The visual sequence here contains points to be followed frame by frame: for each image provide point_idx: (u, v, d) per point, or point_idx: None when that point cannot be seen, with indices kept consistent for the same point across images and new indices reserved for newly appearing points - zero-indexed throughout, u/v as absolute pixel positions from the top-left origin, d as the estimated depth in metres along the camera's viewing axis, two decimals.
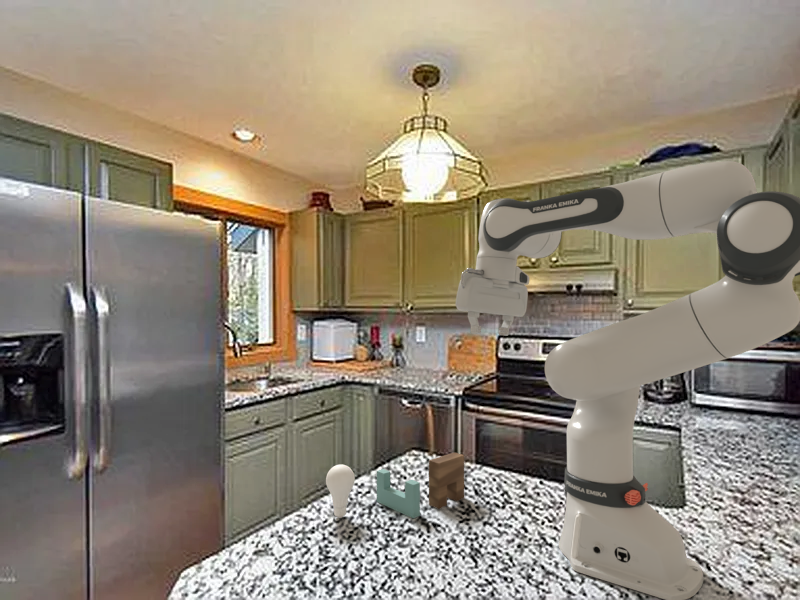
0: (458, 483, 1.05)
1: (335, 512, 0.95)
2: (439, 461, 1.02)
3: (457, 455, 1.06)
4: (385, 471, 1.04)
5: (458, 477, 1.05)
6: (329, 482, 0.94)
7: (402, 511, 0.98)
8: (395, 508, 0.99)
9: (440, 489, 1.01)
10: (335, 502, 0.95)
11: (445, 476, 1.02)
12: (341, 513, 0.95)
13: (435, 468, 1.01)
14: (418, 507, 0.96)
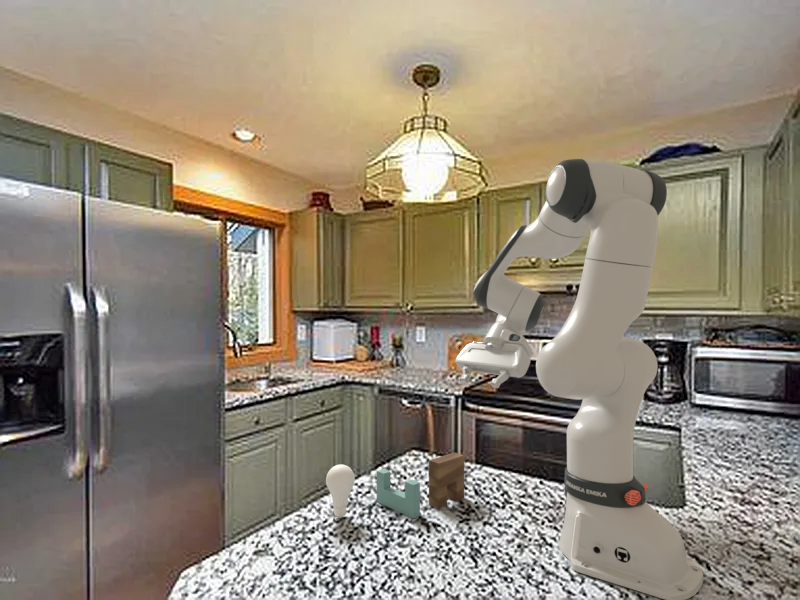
0: (458, 483, 1.05)
1: (335, 512, 0.95)
2: (439, 461, 1.02)
3: (457, 455, 1.06)
4: (385, 471, 1.04)
5: (458, 477, 1.05)
6: (329, 482, 0.94)
7: (402, 511, 0.98)
8: (395, 508, 0.99)
9: (440, 489, 1.01)
10: (335, 502, 0.95)
11: (445, 476, 1.02)
12: (341, 513, 0.95)
13: (435, 468, 1.01)
14: (418, 507, 0.96)
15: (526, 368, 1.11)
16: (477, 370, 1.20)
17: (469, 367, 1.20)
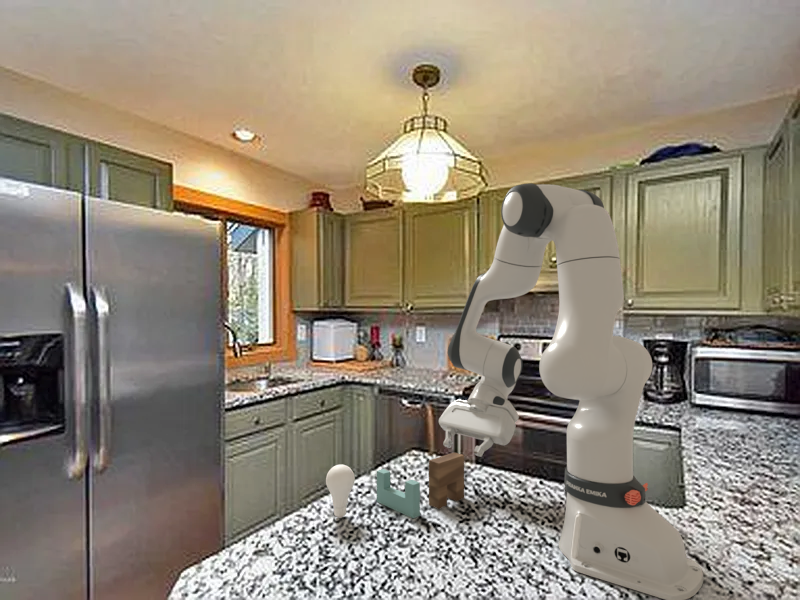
0: (458, 483, 1.05)
1: (335, 512, 0.95)
2: (439, 461, 1.02)
3: (457, 455, 1.06)
4: (385, 471, 1.04)
5: (458, 477, 1.05)
6: (329, 482, 0.94)
7: (402, 511, 0.98)
8: (395, 508, 0.99)
9: (440, 489, 1.01)
10: (335, 502, 0.95)
11: (445, 476, 1.02)
12: (341, 513, 0.95)
13: (435, 468, 1.01)
14: (418, 507, 0.96)
15: (511, 435, 1.06)
16: (461, 433, 1.14)
17: (452, 429, 1.14)
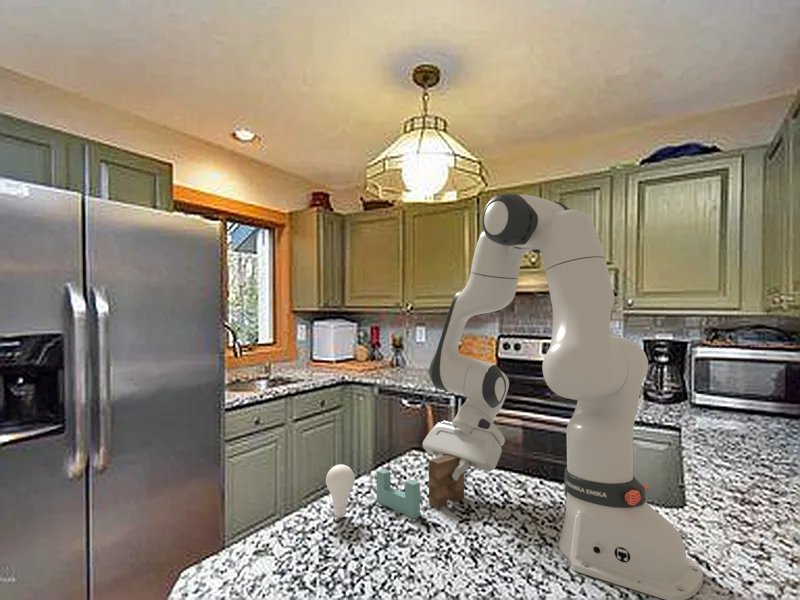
0: (458, 483, 1.05)
1: (335, 512, 0.95)
2: (439, 461, 1.02)
3: None
4: (385, 471, 1.04)
5: None
6: (329, 482, 0.94)
7: (402, 511, 0.98)
8: (395, 508, 0.99)
9: (440, 489, 1.01)
10: (335, 502, 0.95)
11: (445, 476, 1.02)
12: (341, 513, 0.95)
13: (435, 468, 1.01)
14: (418, 507, 0.96)
15: (496, 461, 1.01)
16: None
17: None
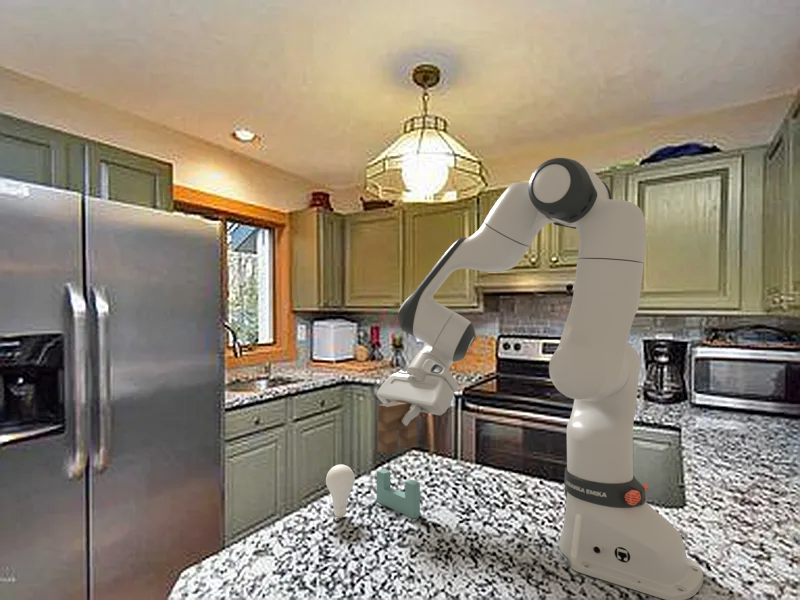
0: (410, 429, 1.02)
1: (335, 512, 0.95)
2: (388, 405, 0.98)
3: None
4: (385, 471, 1.04)
5: (410, 423, 1.02)
6: (329, 482, 0.94)
7: (402, 511, 0.98)
8: (395, 508, 0.99)
9: (389, 433, 0.97)
10: (335, 502, 0.95)
11: (395, 421, 0.99)
12: (341, 513, 0.95)
13: (384, 412, 0.98)
14: (418, 507, 0.96)
15: (447, 404, 0.98)
16: None
17: None
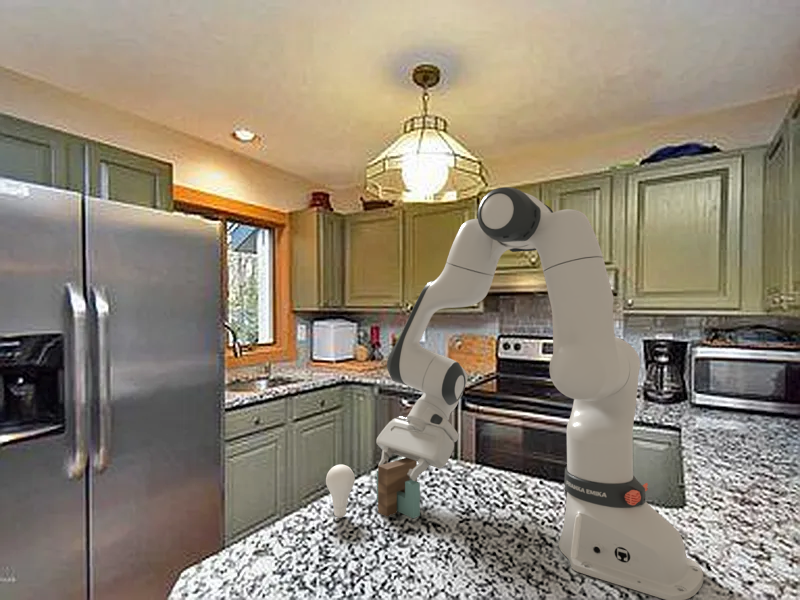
0: None
1: (335, 512, 0.95)
2: (388, 467, 0.98)
3: (410, 460, 1.02)
4: None
5: None
6: (329, 482, 0.94)
7: (402, 511, 0.98)
8: None
9: (389, 496, 0.97)
10: (335, 502, 0.95)
11: (395, 483, 0.98)
12: (341, 513, 0.95)
13: (384, 474, 0.97)
14: (418, 507, 0.96)
15: (447, 457, 0.97)
16: (398, 453, 1.06)
17: (389, 450, 1.06)
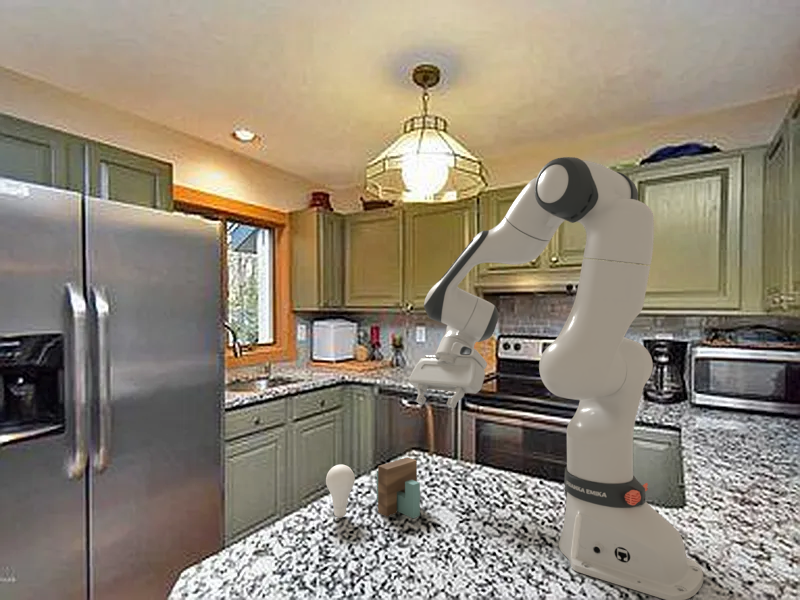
0: None
1: (335, 512, 0.95)
2: (388, 467, 0.98)
3: (410, 460, 1.02)
4: None
5: None
6: (329, 482, 0.94)
7: (402, 511, 0.98)
8: None
9: (389, 496, 0.97)
10: (335, 502, 0.95)
11: (395, 483, 0.98)
12: (341, 513, 0.95)
13: (384, 474, 0.97)
14: (418, 507, 0.96)
15: (481, 382, 1.06)
16: (432, 388, 1.14)
17: (424, 386, 1.14)
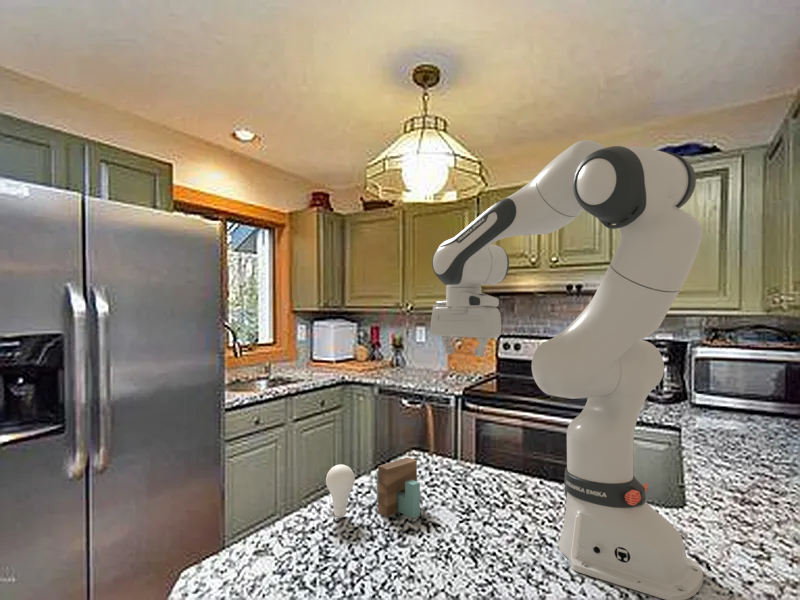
0: None
1: (335, 512, 0.95)
2: (388, 467, 0.98)
3: (410, 460, 1.02)
4: None
5: None
6: (329, 482, 0.94)
7: (402, 511, 0.98)
8: None
9: (389, 496, 0.97)
10: (335, 502, 0.95)
11: (395, 483, 0.98)
12: (341, 513, 0.95)
13: (384, 474, 0.97)
14: (418, 507, 0.96)
15: (499, 326, 1.07)
16: None
17: (447, 336, 1.17)
